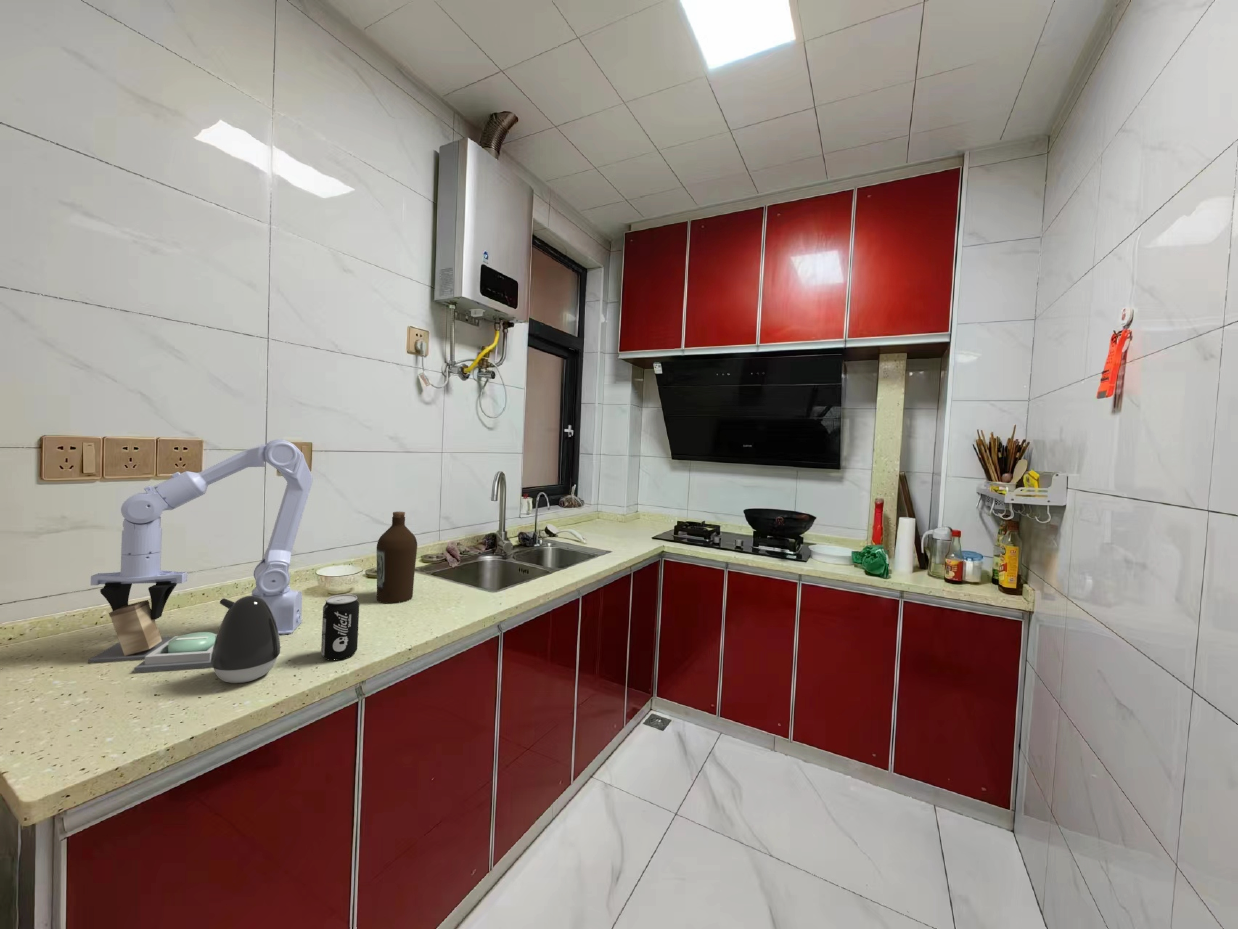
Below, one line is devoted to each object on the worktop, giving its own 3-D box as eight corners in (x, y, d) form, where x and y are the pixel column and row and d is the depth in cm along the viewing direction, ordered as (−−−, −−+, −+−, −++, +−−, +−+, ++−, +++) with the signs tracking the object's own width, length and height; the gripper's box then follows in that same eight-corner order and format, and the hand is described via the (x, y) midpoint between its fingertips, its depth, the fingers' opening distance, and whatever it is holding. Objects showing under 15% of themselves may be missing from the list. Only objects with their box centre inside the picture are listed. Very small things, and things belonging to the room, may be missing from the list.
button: (221, 642, 100) (221, 630, 99) (204, 657, 93) (204, 643, 93) (180, 645, 97) (180, 632, 97) (159, 660, 91) (159, 646, 91)
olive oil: (410, 591, 144) (414, 509, 143) (418, 601, 136) (422, 514, 135) (371, 595, 138) (375, 510, 137) (377, 606, 129) (381, 515, 129)
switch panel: (240, 642, 103) (241, 631, 103) (213, 667, 91) (213, 654, 91) (171, 646, 99) (172, 634, 99) (134, 673, 88) (134, 659, 87)
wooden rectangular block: (162, 640, 97) (148, 599, 96) (149, 649, 93) (134, 606, 92) (138, 647, 96) (123, 606, 95) (124, 656, 92) (108, 613, 91)
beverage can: (364, 651, 102) (366, 596, 102) (337, 664, 96) (339, 605, 95) (341, 646, 104) (343, 591, 104) (313, 657, 98) (315, 600, 97)
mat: (182, 638, 103) (182, 636, 103) (154, 658, 93) (154, 655, 93) (123, 642, 100) (123, 639, 100) (88, 663, 90) (88, 660, 90)
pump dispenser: (240, 662, 94) (243, 586, 94) (292, 666, 94) (295, 590, 93) (193, 687, 84) (196, 602, 83) (250, 692, 84) (253, 607, 83)
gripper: (196, 547, 102) (193, 610, 102) (109, 548, 97) (107, 613, 98) (177, 555, 95) (174, 622, 96) (83, 556, 91) (81, 626, 91)
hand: (139, 618), depth 96 cm, fingers closed on wooden rectangular block, 5 cm apart
